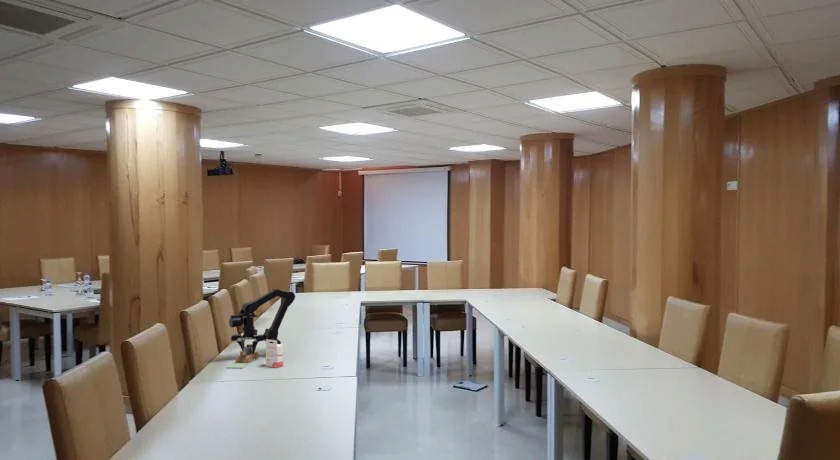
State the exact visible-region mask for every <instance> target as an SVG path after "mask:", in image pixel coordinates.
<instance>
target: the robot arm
mask: <svg viewBox="0 0 840 460" xmlns="http://www.w3.org/2000/svg"><path fill="white" fill-rule="evenodd" d="M276 297H280V305H279V307H278V309H277V311H276V314H275V316H274V318H273V321H272V323H271V325H270V327H269V328H265V330H264V333H263V334H262V333H261V334H260V333H259V334H258V331H259V330H258V329H256V328H255V327H256V326H254V318H257V317H258V315H257V314H255V312H256V311H257V310H258V309H259V308H260V307H261V306H263V305H264V304H266V303H268V302H269V301H271V300H273V299H274V298H276ZM295 299H296V294H295V292H294V291H290V290H285V291H283V290H280V289H278V288H272V290H270V291H268V292H267V293H265V294H263V295H262V296H260V297H258V298H257V299H254V300H252V301H251V300H250V301H248V302H245V303H243V304H242V305H241V309H240V311H239V312H238V314H231V315H230V318H229V320H228V325H229V328H237V327H238V328H239V327H242V328H241V329H242V333H234V334H233V335H231V337H230V341H232V342H236V343H238V346H239V347H240V349H241V351H243V348H244V347H246V345H245V341H246V340H253V341H252V347H253V353H254V352H255V351H256V348H257V345H258V343H259V342H266V339H268V340H277V344H281V343H282V342H281V341H280V340H279V338H278V337H279V329H280V326H281V325H282V323H283V319H284V317H285V316H286V313H287V311H288V308H289V307H290V306H291V304H293V302H294V301H295ZM242 334H243V335H242ZM270 343H273V342H270ZM281 345H282V344H281Z"/></svg>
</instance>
